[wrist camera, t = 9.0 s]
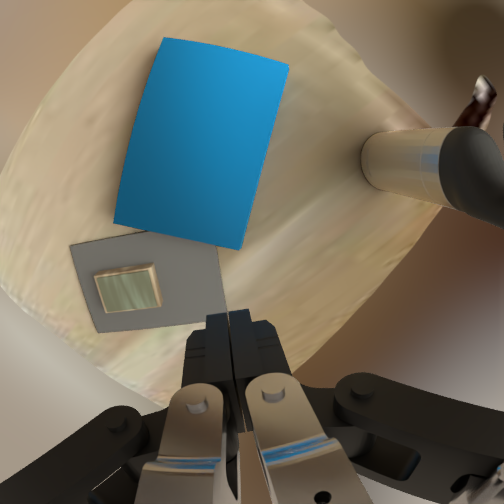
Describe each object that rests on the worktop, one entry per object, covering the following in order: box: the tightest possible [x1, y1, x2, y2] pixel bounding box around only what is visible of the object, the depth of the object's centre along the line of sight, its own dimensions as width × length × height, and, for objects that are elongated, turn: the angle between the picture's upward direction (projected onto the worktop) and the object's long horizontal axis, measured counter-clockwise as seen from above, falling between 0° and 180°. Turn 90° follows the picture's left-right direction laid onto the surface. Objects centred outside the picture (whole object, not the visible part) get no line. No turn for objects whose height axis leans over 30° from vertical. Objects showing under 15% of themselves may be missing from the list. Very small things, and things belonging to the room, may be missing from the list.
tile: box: [94, 263, 163, 313], centre depth 39 cm, size 2×6×9 cm
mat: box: [70, 231, 228, 333], centre depth 41 cm, size 22×15×1 cm
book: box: [113, 37, 289, 250], centre depth 34 cm, size 17×4×25 cm
